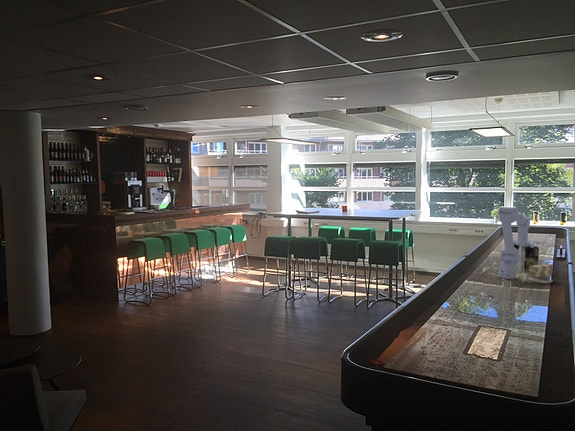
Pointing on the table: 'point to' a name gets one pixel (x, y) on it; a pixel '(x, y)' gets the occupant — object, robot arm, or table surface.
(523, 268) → the coffee box
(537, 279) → the balance stand
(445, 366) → the table surface
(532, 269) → the ash beam
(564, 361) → the table surface
